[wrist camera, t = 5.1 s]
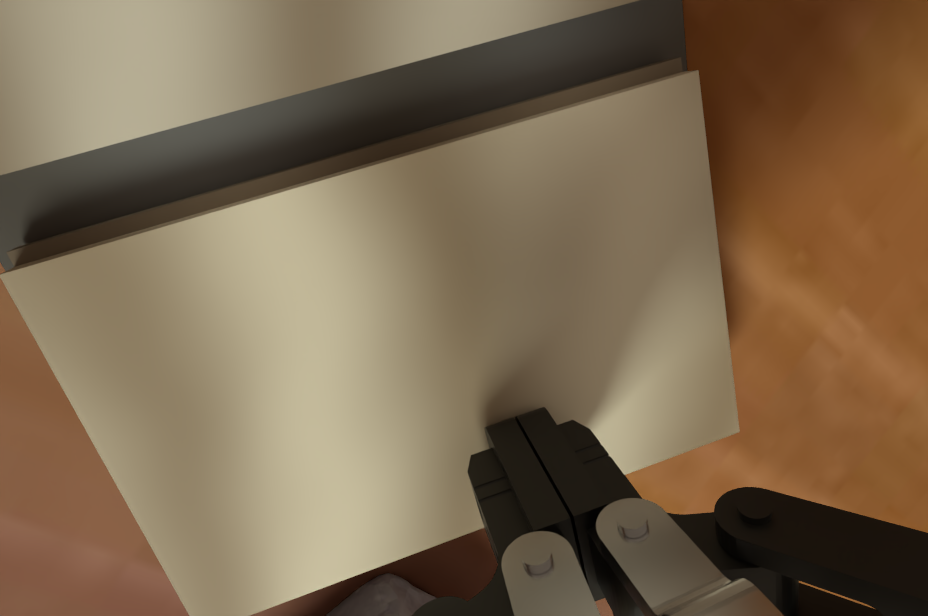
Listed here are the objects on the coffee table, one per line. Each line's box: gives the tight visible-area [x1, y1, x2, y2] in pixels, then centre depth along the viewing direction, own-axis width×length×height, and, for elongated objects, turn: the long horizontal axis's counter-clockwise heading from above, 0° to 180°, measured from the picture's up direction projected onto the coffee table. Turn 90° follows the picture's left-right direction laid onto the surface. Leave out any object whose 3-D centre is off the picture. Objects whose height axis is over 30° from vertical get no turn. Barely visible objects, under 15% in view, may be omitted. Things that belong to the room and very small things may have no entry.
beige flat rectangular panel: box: [0, 57, 739, 616], centre depth 14 cm, size 14×9×1 cm, turn 104°
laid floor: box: [0, 0, 687, 271], centre depth 12 cm, size 15×21×2 cm
